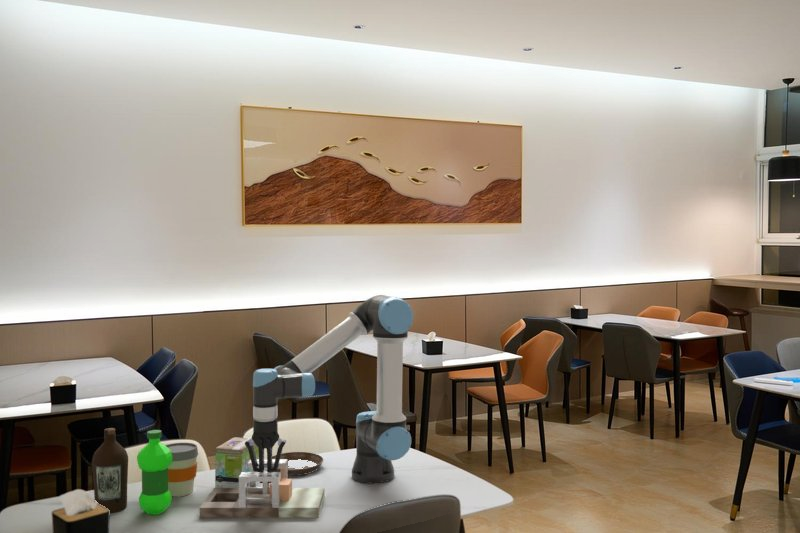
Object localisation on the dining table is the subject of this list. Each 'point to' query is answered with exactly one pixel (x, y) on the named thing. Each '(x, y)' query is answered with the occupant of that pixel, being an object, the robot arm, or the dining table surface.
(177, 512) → the dining table surface
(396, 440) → the robot arm
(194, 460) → the reusable coffee cup
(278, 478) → the tunnel
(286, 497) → the terracotta block
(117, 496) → the olive oil
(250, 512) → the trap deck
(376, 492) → the dining table surface
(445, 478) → the dining table surface
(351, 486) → the dining table surface
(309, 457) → the plant saucer
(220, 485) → the tea box
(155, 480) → the plastic bottle
